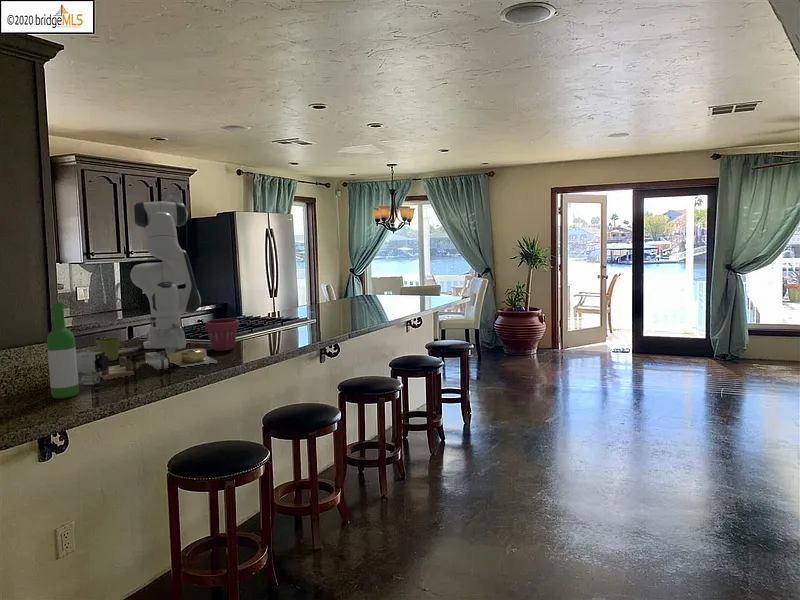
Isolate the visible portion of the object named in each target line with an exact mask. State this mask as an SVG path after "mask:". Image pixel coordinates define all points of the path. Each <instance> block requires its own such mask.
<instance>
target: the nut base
mask: <svg viewBox="0 0 800 600" xmlns="http://www.w3.org/2000/svg"><path fill="white" fill-rule="evenodd" d="M173 363H174V364H176V365H178V366H180V367H186V368H188V367H187V366H193V367H195V366H194V365H200V364H207V365H210V364H209V363H214V364H218V360H217V359H215V358H213V357H210V356H208V355H207V359H206V360H203V361H198V362H181V361H179V362H172V363H171V364H173ZM174 364H173V365H174ZM176 365H175V366H176ZM178 366H177V367H178ZM200 366H201V365H200ZM180 367H179V368H180Z"/></svg>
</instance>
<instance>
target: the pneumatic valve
mask: <svg viewBox="0 0 800 600" xmlns="http://www.w3.org/2000/svg"><path fill="white" fill-rule="evenodd" d="M76 360H77V371H78V373H83V375H82V378H81V382H82V384H83V385H84V386H94V385H96V384H99V383H100V380H101V377H100V376H99V375H98V374H97V373H96V372H101V371H103V370H106V368H107V367H108V366H109V365H110V360H109V358H108V357H107V356H106V355H105V352H100V351H91V349H87V350H86V351H79V352H76Z"/></svg>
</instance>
